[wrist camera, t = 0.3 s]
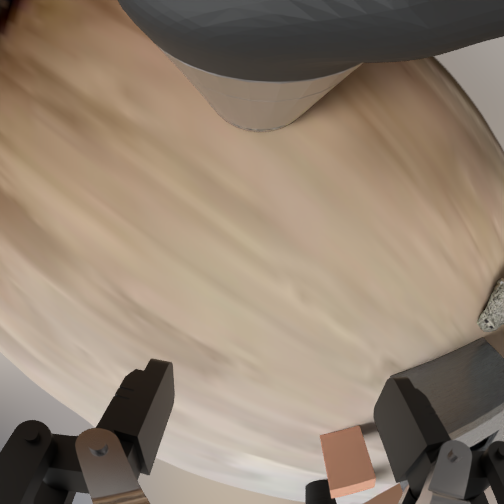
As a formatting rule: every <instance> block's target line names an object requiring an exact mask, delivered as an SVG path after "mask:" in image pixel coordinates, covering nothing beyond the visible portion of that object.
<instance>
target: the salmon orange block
mask: <svg viewBox="0 0 504 504" xmlns="http://www.w3.org/2000/svg"><path fill="white" fill-rule="evenodd" d="M320 439H321V445H322V451H323V456H324V461H325V466H326V472H327V477H328V483H329V488H330V494H331V499H332V498H337V497H341V496H345V495H349V494H353V493H356V492H360V491H363V490H367V489H370V488H373V487H374V486H375V481H376V477H375V473H374V470H373V467H372V463H371V460H370V457H369V454H368V451H367V447H366V444H365V441H364V438H363V435H362V432H361V429H360V426H355V427H352V428H348V429H344V430H340V431H336V432H332V433H328V434H324V435H320Z"/></svg>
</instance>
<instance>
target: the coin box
mask: <svg viewBox="0 0 504 504" xmlns="http://www.w3.org/2000/svg"><path fill="white" fill-rule="evenodd" d="M396 377H408V378H409V379H410V381H411V382H412V384H413V386H414V387H415V389H416V388H418V389H419V390H420V391H421V392H422V393H423V394H425V395H426V396H427V398H428V400H429V401H430V403H431V405H432V407H433V408H434V410H435V412H436V414H437V415H438V417H439V419H440V420H441V422H442V424H443V426H444V427H445V429H446V431H447V433H448V435H449V436H450V438H451V440H457V441H461V442H463V443H465V444H466V445H467V446H468V447H469V448H470V450H471V451H486V449H487V448H488V447H489V446H490V445H491V443H493V442H495V441H504V358H503V357H502V356H501V355H500V354H499V353H498V352H497V351H496V350H495V349H494V348H493V347H492V346H491V345H490V344H489V343H488V342H487V341H486V340H485V339H484V338H483V337H482V338H480V339H478V340H476V341H474V342H472V343H470V344H468V345H466V346H464V347H462V348H460V349H458V350H455V351H453V352H451V353H449V354H446V355H444V356H442V357H439V358H437V359H435V360H432V361H430V362H427V363H425V364H422V365H420V366H417V367H415V368H412V369H409V370H407V371H404V372H401V373H398V374H396V375H393V376H390V378H396ZM400 485H401V488H402V490H403V492H404V490H405V488H406V487H407V486H408V485H409V483H408V480H406V481H402V482H400Z"/></svg>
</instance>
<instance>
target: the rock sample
mask: <svg viewBox="0 0 504 504" xmlns="http://www.w3.org/2000/svg"><path fill="white" fill-rule="evenodd" d="M477 323H478V325H479V326H480V328H481V329H482V330H483V331H484V332H491V331H495V330H497V329H498V328H499V327H500V326H501V325H503V324H504V278H502V279H500V280H498V282H497V285H495V287H494V292H493V293H492V295H491V297H490V299H489V302H488V305H487V307H486V309H485V310H484V311H483V312H482V314H481V315H480V318H479V320H478V322H477Z"/></svg>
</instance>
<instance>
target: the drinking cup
mask: <svg viewBox="0 0 504 504" xmlns="http://www.w3.org/2000/svg"><path fill="white" fill-rule="evenodd" d="M306 504H337V503H336V500H335V498H332V499H331V494H330V488H329V483H328V481H327V480H319V481H314V482H311V483H309V484H308V485H306Z"/></svg>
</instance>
